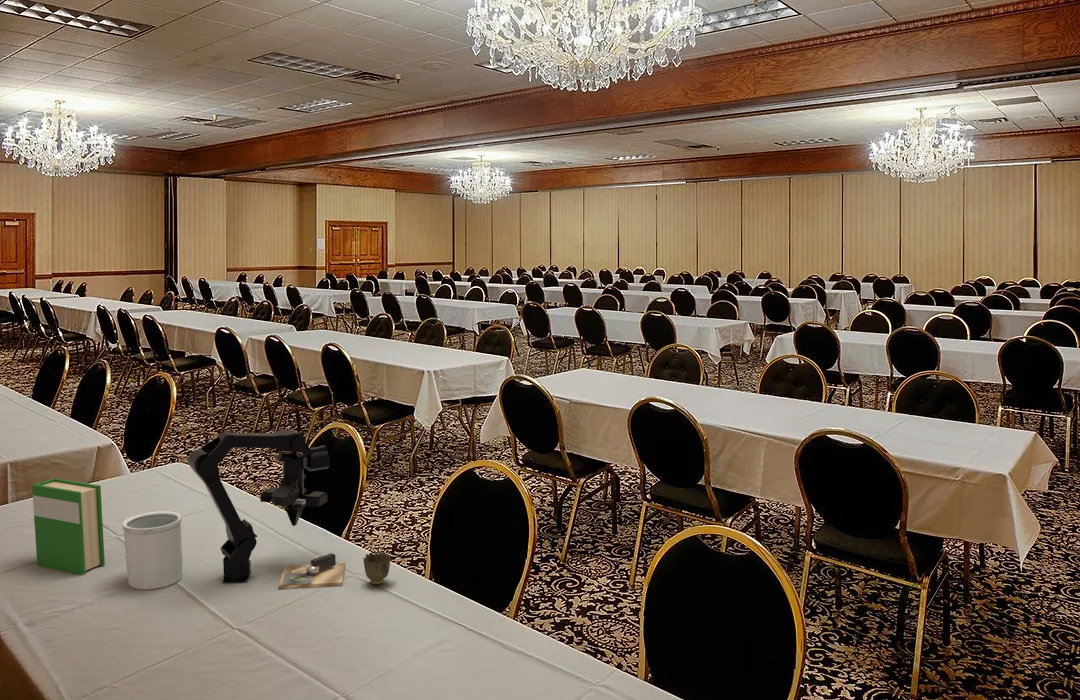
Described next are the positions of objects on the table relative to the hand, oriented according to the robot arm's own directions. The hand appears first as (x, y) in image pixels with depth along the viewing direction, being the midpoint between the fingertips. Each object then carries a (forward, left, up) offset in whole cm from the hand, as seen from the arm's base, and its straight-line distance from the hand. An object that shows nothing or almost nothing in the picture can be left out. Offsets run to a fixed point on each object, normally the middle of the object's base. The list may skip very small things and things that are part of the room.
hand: (294, 525), depth 241 cm
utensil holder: (-37, -6, -12) cm, 39 cm away
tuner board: (+6, -10, -12) cm, 17 cm away
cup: (+24, -17, -12) cm, 32 cm away
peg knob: (+6, -10, -11) cm, 16 cm away
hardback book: (-63, +8, -12) cm, 65 cm away
